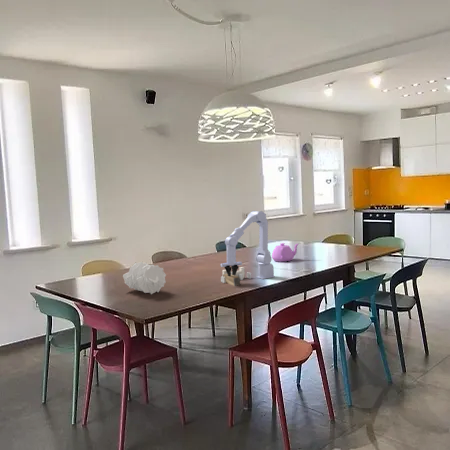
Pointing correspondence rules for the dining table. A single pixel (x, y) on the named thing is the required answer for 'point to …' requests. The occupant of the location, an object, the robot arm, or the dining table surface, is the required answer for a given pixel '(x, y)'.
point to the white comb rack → (237, 274)
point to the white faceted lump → (145, 277)
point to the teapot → (283, 253)
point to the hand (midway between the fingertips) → (231, 277)
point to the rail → (232, 279)
